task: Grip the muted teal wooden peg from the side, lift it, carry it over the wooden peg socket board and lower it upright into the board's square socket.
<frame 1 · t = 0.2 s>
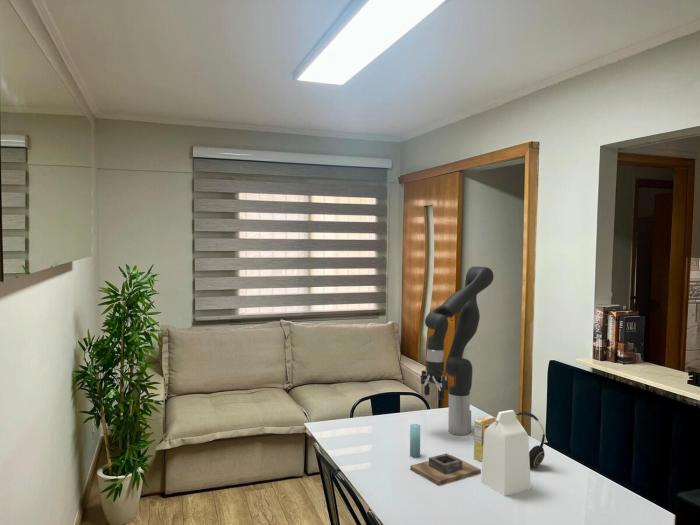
hand: (433, 397, 241), 18 cm above the table, tool pointing down, fingers open, 8 cm apart
teal peg: (415, 455, 221), on the table
wooden peg socket board: (445, 471, 205), on the table
headphones: (526, 465, 212), on the table
milk: (505, 486, 193), on the table
candy box: (484, 458, 218), on the table
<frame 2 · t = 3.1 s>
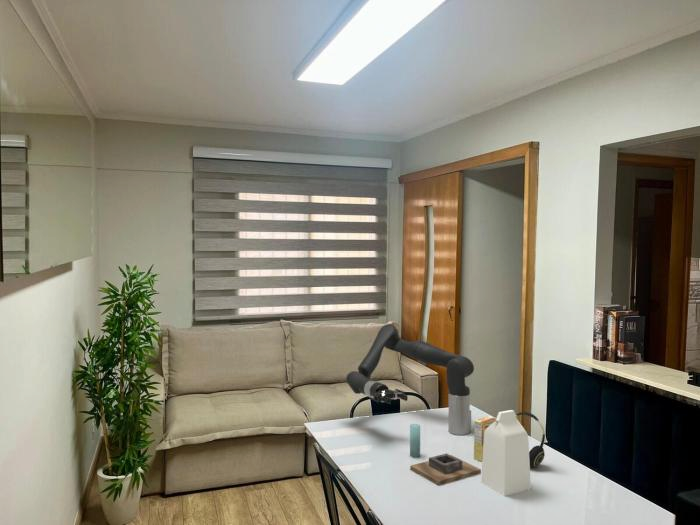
hand: (398, 399, 229), 20 cm above the table, tool horizontal, fingers open, 8 cm apart
nothing on the table moved.
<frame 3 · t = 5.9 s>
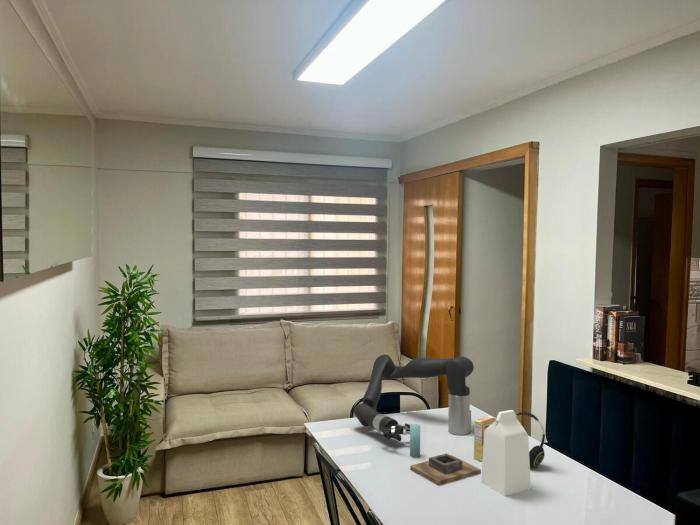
hand: (408, 436, 224), 6 cm above the table, tool horizontal, fingers open, 8 cm apart
nothing on the table moved.
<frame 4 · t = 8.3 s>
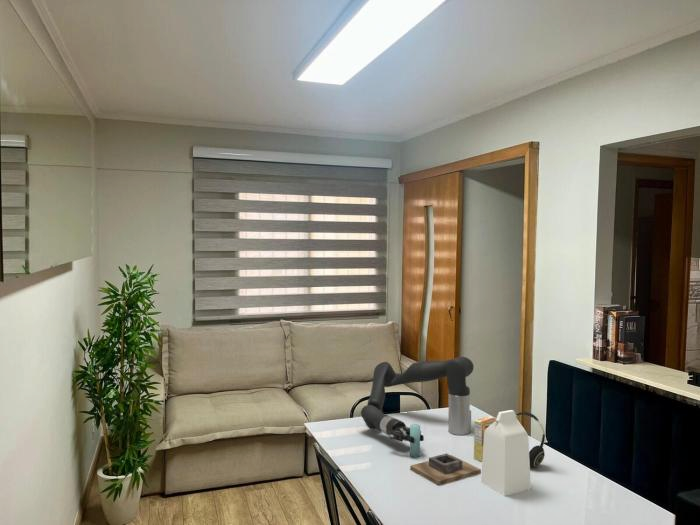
hand: (418, 439, 219), 7 cm above the table, tool horizontal, fingers closed on teal peg, 4 cm apart
teal peg: (414, 455, 221), on the table, touching gripper
everything else where it was.
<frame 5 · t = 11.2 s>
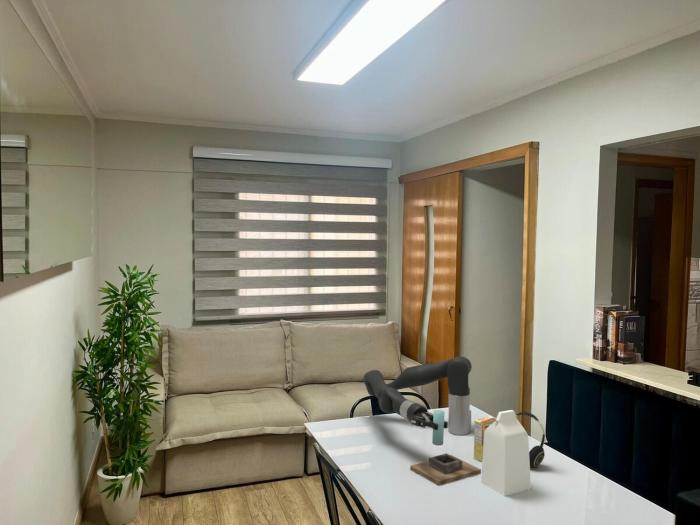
hand: (441, 426, 205), 16 cm above the table, tool horizontal, fingers closed on teal peg, 4 cm apart
teal peg: (437, 443, 208), point 10 cm above the table, touching gripper
everything else where it was.
when the fingers open (10 cm above the table, at t = 14.2 s): teal peg drops 1 cm, resting on wooden peg socket board.
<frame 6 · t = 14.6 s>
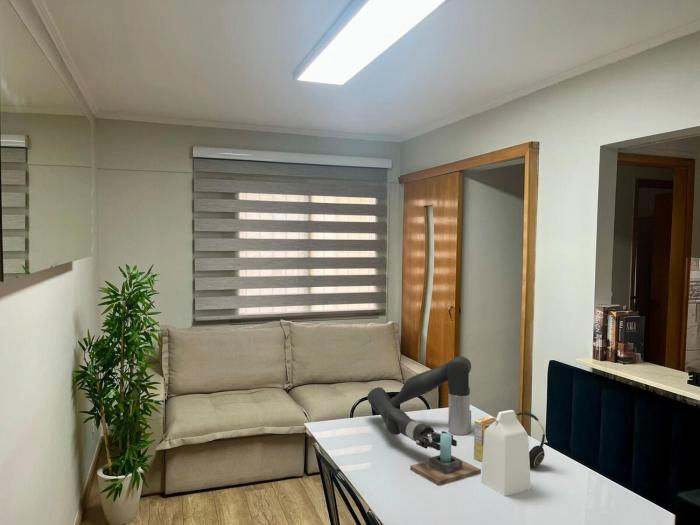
hand: (447, 445, 204), 10 cm above the table, tool horizontal, fingers open, 7 cm apart
teal peg: (445, 467, 205), point 2 cm above the table, touching wooden peg socket board
everything else where it was.
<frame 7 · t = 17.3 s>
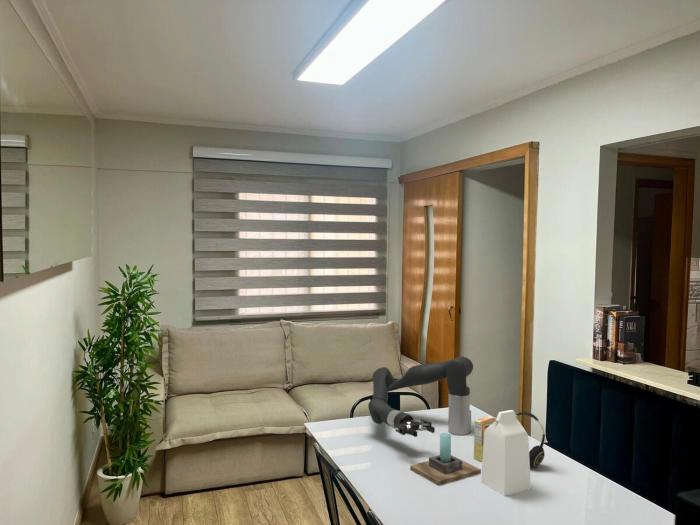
hand: (425, 432, 214), 11 cm above the table, tool horizontal, fingers open, 8 cm apart
nothing on the table moved.
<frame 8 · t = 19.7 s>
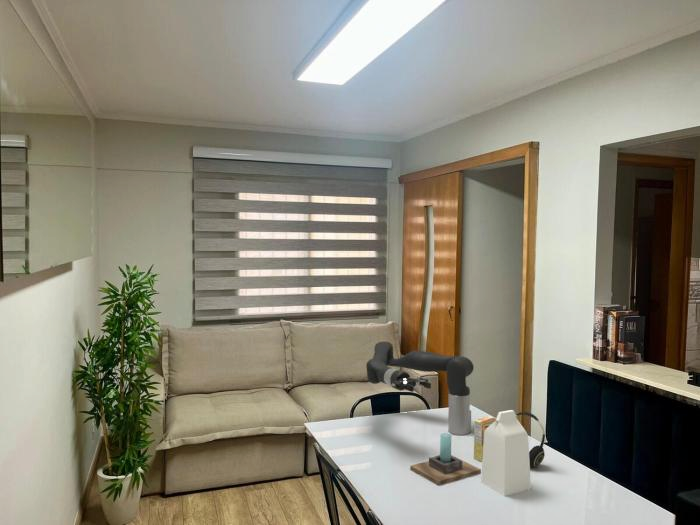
hand: (421, 387, 216), 28 cm above the table, tool horizontal, fingers open, 8 cm apart
nothing on the table moved.
at the end: teal peg 0.1 cm off-centre on the wooden peg socket board, point 1.5 cm above the wooden peg socket board's base; teal peg tilted 1°; the gripper is holding nothing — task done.
